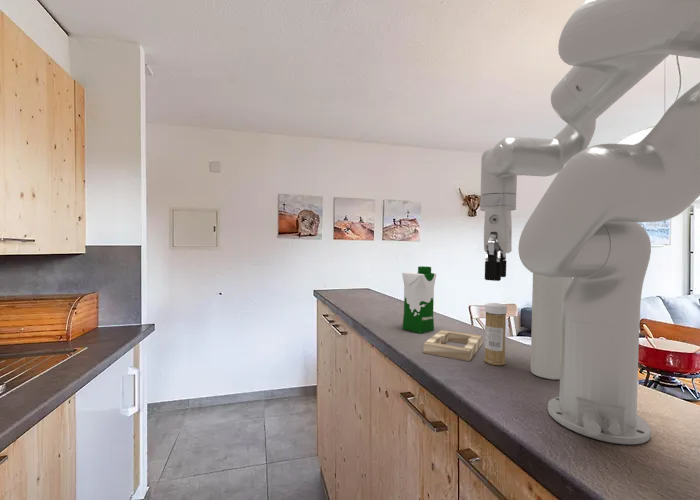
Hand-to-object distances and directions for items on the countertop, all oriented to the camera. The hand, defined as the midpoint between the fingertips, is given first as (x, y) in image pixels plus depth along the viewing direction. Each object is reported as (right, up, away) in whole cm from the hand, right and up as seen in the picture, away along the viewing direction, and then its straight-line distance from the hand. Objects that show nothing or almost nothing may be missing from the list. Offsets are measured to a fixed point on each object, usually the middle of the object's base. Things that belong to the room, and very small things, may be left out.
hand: (495, 278), depth 77 cm
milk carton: (-12, -19, +29) cm, 37 cm away
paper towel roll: (+8, -20, -7) cm, 23 cm away
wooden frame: (-6, -19, +10) cm, 23 cm away
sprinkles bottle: (0, -20, 0) cm, 20 cm away
